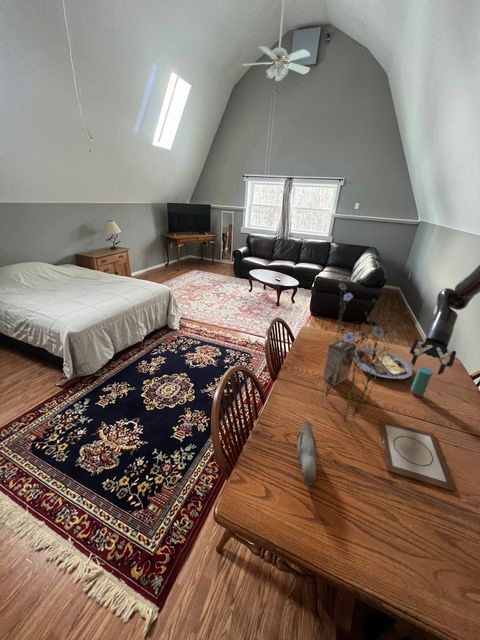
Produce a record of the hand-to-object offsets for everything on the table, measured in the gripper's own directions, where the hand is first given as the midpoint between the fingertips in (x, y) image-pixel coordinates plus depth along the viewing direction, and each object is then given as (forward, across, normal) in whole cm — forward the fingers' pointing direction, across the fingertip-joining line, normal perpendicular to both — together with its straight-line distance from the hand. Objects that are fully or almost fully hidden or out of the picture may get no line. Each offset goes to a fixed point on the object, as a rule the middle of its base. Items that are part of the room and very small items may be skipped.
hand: (425, 369), depth 104 cm
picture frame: (+32, +4, -18) cm, 37 cm away
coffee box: (+19, -28, -5) cm, 34 cm away
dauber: (+10, 0, +4) cm, 11 cm away
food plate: (+2, -16, +12) cm, 20 cm away
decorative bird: (+50, -19, -36) cm, 64 cm away
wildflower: (+31, -20, -17) cm, 40 cm away
